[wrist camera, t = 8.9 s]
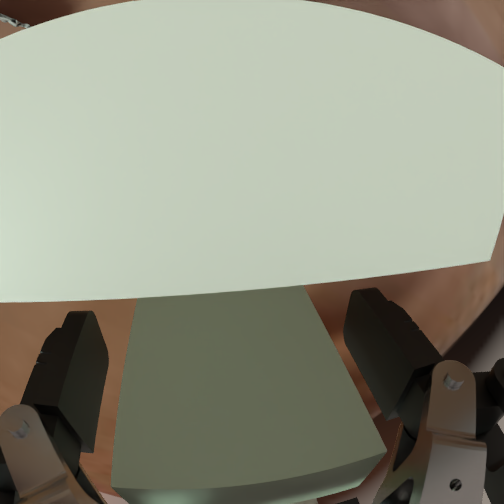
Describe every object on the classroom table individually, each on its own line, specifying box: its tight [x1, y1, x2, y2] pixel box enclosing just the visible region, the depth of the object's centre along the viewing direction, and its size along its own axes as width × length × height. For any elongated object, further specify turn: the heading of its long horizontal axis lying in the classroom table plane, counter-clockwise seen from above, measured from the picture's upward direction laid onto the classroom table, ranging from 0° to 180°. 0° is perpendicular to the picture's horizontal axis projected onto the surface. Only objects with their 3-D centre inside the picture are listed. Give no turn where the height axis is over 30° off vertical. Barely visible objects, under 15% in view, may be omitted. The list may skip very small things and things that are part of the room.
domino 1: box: [0, 0, 504, 302], centre depth 6 cm, size 2×5×10 cm, turn 90°
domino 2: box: [111, 285, 387, 504], centre depth 9 cm, size 2×5×10 cm, turn 89°
